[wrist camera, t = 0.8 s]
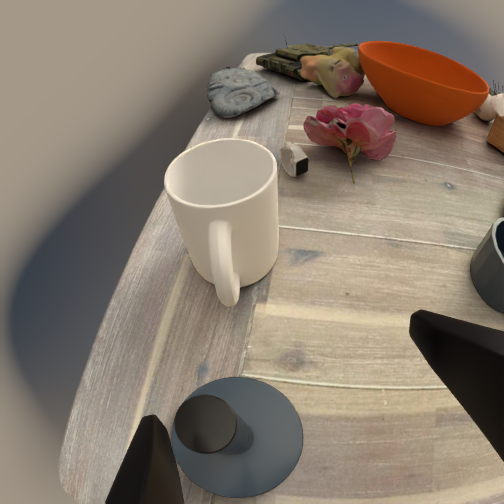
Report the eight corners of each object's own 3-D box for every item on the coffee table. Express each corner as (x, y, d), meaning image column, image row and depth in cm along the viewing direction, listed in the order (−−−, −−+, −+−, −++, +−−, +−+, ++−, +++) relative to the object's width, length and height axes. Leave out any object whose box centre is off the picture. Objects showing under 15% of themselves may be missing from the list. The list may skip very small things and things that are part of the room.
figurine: (498, 116, 47) (473, 107, 51) (501, 93, 42) (474, 85, 46) (499, 131, 44) (471, 122, 47) (503, 106, 39) (474, 97, 43)
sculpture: (345, 38, 50) (385, 48, 44) (350, 72, 57) (387, 84, 51) (295, 59, 48) (336, 69, 42) (303, 96, 55) (342, 111, 49)
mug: (284, 328, 25) (286, 251, 17) (185, 330, 25) (141, 259, 17) (276, 220, 32) (273, 134, 24) (197, 224, 33) (174, 143, 25)
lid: (309, 488, 17) (338, 515, 8) (179, 496, 17) (106, 517, 8) (292, 373, 23) (303, 309, 14) (173, 384, 23) (108, 328, 14)
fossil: (227, 127, 45) (224, 104, 42) (185, 95, 55) (181, 78, 52) (293, 104, 49) (293, 84, 46) (241, 77, 58) (239, 61, 55)
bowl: (430, 157, 38) (447, 97, 30) (327, 89, 52) (329, 42, 44) (494, 132, 43) (507, 91, 36) (407, 78, 58) (412, 41, 50)
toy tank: (253, 70, 61) (249, 30, 53) (336, 52, 70) (337, 20, 62) (294, 85, 54) (293, 38, 46) (377, 66, 62) (380, 31, 54)
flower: (318, 153, 44) (348, 97, 40) (373, 189, 40) (407, 129, 36) (277, 142, 36) (314, 70, 31) (344, 184, 31) (389, 104, 27)
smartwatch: (277, 168, 38) (276, 141, 34) (290, 162, 38) (291, 136, 35) (295, 183, 36) (296, 156, 32) (309, 177, 36) (311, 150, 33)
